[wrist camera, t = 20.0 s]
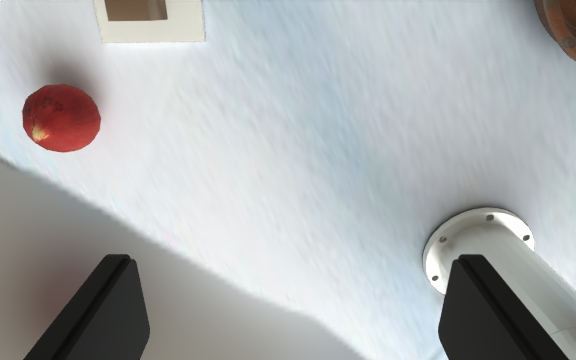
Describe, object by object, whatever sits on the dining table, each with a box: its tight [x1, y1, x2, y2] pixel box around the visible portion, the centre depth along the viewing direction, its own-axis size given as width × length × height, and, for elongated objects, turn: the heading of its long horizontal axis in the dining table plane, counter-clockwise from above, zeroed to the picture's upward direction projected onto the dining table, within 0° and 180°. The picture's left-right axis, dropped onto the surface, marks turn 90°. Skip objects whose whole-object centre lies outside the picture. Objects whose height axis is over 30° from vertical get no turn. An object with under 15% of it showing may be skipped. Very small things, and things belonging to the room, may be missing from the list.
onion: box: [22, 84, 101, 152], centre depth 32 cm, size 6×6×8 cm
